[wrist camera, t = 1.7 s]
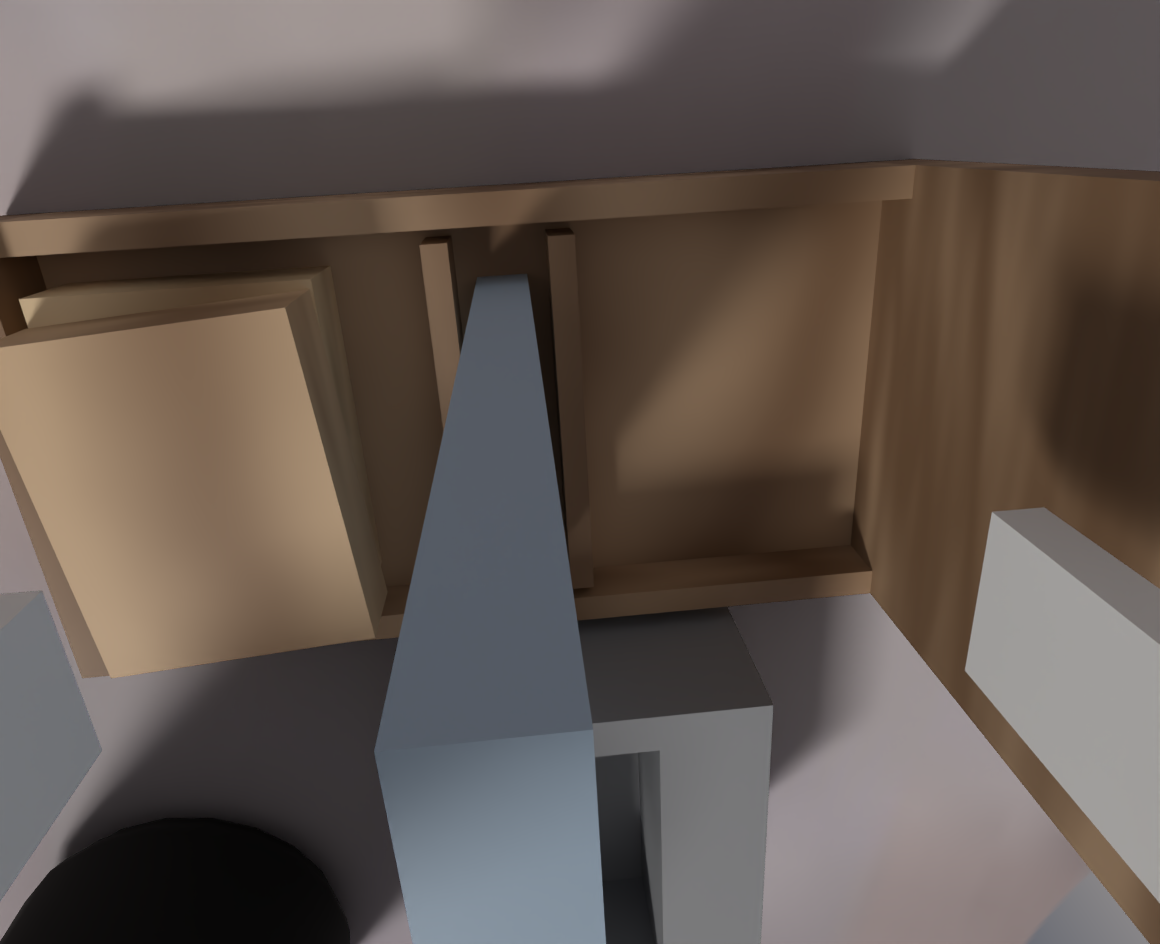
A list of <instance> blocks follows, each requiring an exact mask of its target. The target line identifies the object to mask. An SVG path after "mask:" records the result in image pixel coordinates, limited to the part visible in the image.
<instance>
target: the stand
mask: <svg viewBox="0 0 1160 944" xmlns="http://www.w3.org/2000/svg"><path fill="white" fill-rule="evenodd" d="M577 622H578V629H579V636H580V643H581V650H582V657H583V663H584V670H585V677H586V684H587V691H588V698H589V705H590V712H591V719H592V725H593V736H594V753H595V770H596V786H597V803H598V820H599V836H600V853H601V870H602V886H603V903H604V920H605V936H606V944H761V928H762V909H763V890H764V871H765V852H766V834H767V815H768V796H769V777H770V758H771V740H772V721H773V704H772V701H771V699H770V697H769V695H768V693H767V691H766V689H765V686H764V684H763V682H762V680H761V678H760V676H759V674H758V672H757V669H756V667H755V665H754V663H753V661H752V659H751V657H750V655H749V652H748V650H747V648H746V646H745V644H744V642H743V640H742V637H741V635H740V633H739V631H738V629H737V627H736V625H735V623H734V620H733V618H732V616H731V614H730V612H729V610H728V608H727V607H717V608H706V609H695V610H685V611H674V612H663V613H653V614H642V615H631V616H621V617H610V618H599V619H589V620H578V621H577Z"/></svg>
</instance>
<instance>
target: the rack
mask: <svg viewBox="0 0 1160 944" xmlns="http://www.w3.org/2000/svg"><path fill="white" fill-rule="evenodd" d="M315 266H331V272H332V278H333V283H334V289H335V295H336V301H337V306H338V312H339V318H340V323H341V329H342V335H343V341H344V346H345V352H346V358H347V363H348V369H349V375H350V381H351V386H352V392H353V398H354V404H355V409H356V415H357V421H358V426H359V432H360V438H361V444H362V449H363V455H364V461H365V466H366V472H367V478H368V484H369V489H370V495H371V501H372V507H373V512H374V518H375V524H376V529H377V535H378V541H379V547H380V552H381V558H382V564H381V568H382V572H383V576H384V580H385V584H386V587H387V591H388V592H387V596H386V600H385V603H384V607H383V611H382V615H381V619H380V622H379V626H378V630H377V634H376V638H372V639H365V640H376V639H386V638H397V637H399V635H400V630H401V626H402V621H403V616H404V612H405V607H406V603H407V598H408V593H409V589H410V584H411V580H412V575H413V570H414V566H415V561H416V557H417V552H418V547H419V543H420V538H421V533H422V529H423V524H424V520H425V515H426V510H427V506H428V501H429V497H430V492H431V487H432V483H433V478H434V474H435V469H436V464H437V460H438V455H439V451H440V446H441V441H442V437H443V432H444V428H445V423H446V418H447V414H448V409H449V405H450V400H451V395H452V391H453V386H454V381H455V377H456V372H457V368H458V363H459V358H460V354H461V349H462V345H463V340H464V335H465V331H466V326H467V322H468V317H469V312H470V308H471V303H472V299H473V294H474V289H475V285H476V280H477V277H486V276H500V275H515V274H527V277H528V284H529V291H530V298H531V305H532V312H533V319H534V326H535V332H536V339H537V346H538V353H539V360H540V367H541V374H542V381H543V388H544V395H545V401H546V408H547V415H548V422H549V429H550V436H551V443H552V450H553V457H554V463H555V470H556V477H557V484H558V491H559V498H560V505H561V512H562V519H563V526H564V532H565V539H566V546H567V553H568V560H569V567H570V574H571V581H572V588H573V594H574V601H575V608H576V615H577V621H578V620H589V619H599V618H610V617H621V616H631V615H642V614H653V613H663V612H674V611H685V610H695V609H706V608H717V607H727V606H738V605H749V604H759V603H770V602H781V601H791V600H802V599H812V598H823V597H834V596H844V595H855V594H866V593H871V595H872V596H873V597H874V599H875V600H876V601H877V602H878V604H879V605H880V606H881V607H882V609H883V610H884V611H885V612H886V614H887V615H888V616H889V617H890V619H891V620H892V621H893V622H894V624H895V625H896V626H897V627H898V629H899V630H900V631H901V632H902V634H903V635H904V636H905V637H906V639H907V640H908V641H909V642H910V644H911V645H912V646H913V647H914V649H915V650H916V651H917V652H918V654H919V655H920V656H921V657H922V659H923V660H924V661H925V662H926V664H927V665H928V666H929V667H930V669H931V670H932V671H933V672H934V674H935V675H936V676H937V677H938V679H939V680H940V681H941V682H942V684H943V685H944V686H945V688H946V689H947V690H948V691H949V693H950V694H951V695H952V696H953V698H954V699H955V700H956V701H957V703H958V704H959V705H960V706H961V708H962V709H963V710H964V711H965V713H966V714H967V715H968V716H969V718H970V719H971V720H972V721H973V723H974V724H975V725H976V726H977V728H978V729H979V730H980V731H981V733H982V734H983V735H984V736H985V738H986V739H987V740H988V741H989V743H990V744H991V745H992V746H993V748H994V749H995V750H996V751H997V753H998V754H999V755H1000V756H1001V758H1002V759H1003V760H1004V761H1005V763H1006V764H1007V765H1008V766H1009V768H1010V769H1011V770H1012V772H1013V773H1014V774H1015V775H1016V777H1017V778H1018V779H1019V780H1020V782H1021V783H1022V784H1023V785H1024V787H1025V788H1026V789H1027V790H1028V792H1029V793H1030V794H1031V795H1032V797H1033V798H1034V799H1035V800H1036V802H1037V803H1038V804H1039V805H1040V807H1041V808H1042V809H1043V810H1044V812H1045V813H1046V814H1047V815H1048V817H1049V818H1050V819H1051V820H1052V822H1053V823H1054V824H1055V825H1056V827H1057V828H1058V829H1059V830H1060V832H1061V833H1062V834H1063V835H1064V837H1065V838H1066V839H1067V840H1068V842H1069V843H1070V844H1071V845H1072V847H1073V848H1074V849H1075V850H1076V852H1077V853H1078V854H1079V855H1080V857H1081V858H1082V859H1083V861H1084V862H1085V863H1086V864H1087V866H1088V867H1089V868H1090V869H1091V871H1092V872H1093V873H1094V874H1095V876H1096V877H1097V878H1098V879H1099V881H1101V883H1102V884H1103V886H1104V887H1105V888H1106V889H1107V891H1108V892H1109V893H1110V894H1111V896H1112V897H1113V898H1114V899H1115V900H1116V902H1117V903H1118V904H1119V906H1120V907H1121V908H1122V909H1123V911H1124V912H1125V913H1126V914H1127V916H1128V917H1129V918H1130V919H1131V921H1132V922H1133V923H1134V924H1135V926H1136V927H1137V928H1138V929H1139V931H1140V932H1141V933H1142V934H1143V936H1144V937H1145V938H1146V939H1147V941H1148V942H1149V943H1150V944H1160V903H1159V902H1158V901H1157V899H1156V898H1155V897H1154V896H1153V895H1152V893H1151V892H1150V891H1149V890H1148V889H1147V887H1146V886H1145V885H1144V884H1143V883H1142V881H1141V880H1140V879H1139V878H1138V877H1137V875H1136V874H1135V873H1134V872H1133V871H1132V870H1131V868H1130V867H1129V866H1128V865H1127V864H1126V862H1125V861H1124V860H1123V859H1122V858H1121V856H1120V855H1119V854H1118V853H1117V852H1116V850H1115V849H1114V848H1113V847H1112V846H1111V844H1110V843H1109V842H1108V841H1107V840H1106V838H1105V837H1104V836H1103V835H1102V834H1101V833H1100V831H1099V830H1098V829H1097V828H1096V827H1095V825H1094V824H1093V823H1092V822H1091V821H1090V819H1089V818H1088V817H1087V816H1086V815H1085V813H1084V812H1083V811H1082V810H1081V809H1080V807H1079V806H1078V805H1077V804H1076V803H1075V801H1074V800H1073V799H1072V798H1071V797H1070V795H1069V794H1068V793H1067V792H1066V791H1065V790H1064V788H1063V787H1062V786H1061V785H1060V784H1059V782H1058V781H1057V780H1056V779H1055V778H1054V776H1053V775H1052V774H1051V773H1050V772H1049V770H1048V769H1047V768H1046V767H1045V766H1044V764H1043V763H1042V762H1041V761H1040V760H1039V758H1038V757H1037V756H1036V755H1035V754H1034V752H1033V751H1032V750H1031V749H1030V748H1029V747H1028V745H1027V744H1026V743H1025V742H1024V741H1023V739H1022V738H1021V737H1020V736H1019V735H1018V733H1017V732H1016V731H1015V730H1014V729H1013V727H1012V726H1011V725H1010V724H1009V723H1008V721H1007V720H1006V719H1005V718H1004V717H1003V715H1002V714H1001V713H1000V712H999V711H998V709H997V708H996V707H995V706H994V705H993V704H992V702H991V701H990V700H989V699H988V698H987V696H986V695H985V694H984V693H983V692H982V690H981V689H980V688H979V687H978V686H977V684H976V683H975V682H974V681H973V680H972V678H971V677H970V676H969V675H968V674H967V672H966V671H965V667H966V661H967V655H968V649H969V643H970V637H971V632H972V626H973V620H974V614H975V608H976V602H977V596H978V591H979V585H980V579H981V573H982V567H983V561H984V555H985V549H986V544H987V538H988V532H989V526H990V520H991V514H992V512H995V511H1007V510H1019V509H1031V508H1043V507H1044V508H1046V509H1047V510H1049V511H1050V512H1051V513H1053V514H1054V515H1056V516H1057V517H1058V518H1060V519H1061V520H1063V521H1064V522H1066V523H1067V524H1068V525H1070V526H1071V527H1073V528H1074V529H1076V530H1077V531H1078V532H1080V533H1081V534H1083V535H1084V536H1085V537H1087V538H1088V539H1090V540H1091V541H1093V542H1094V543H1095V544H1097V545H1098V546H1100V547H1101V548H1102V549H1104V550H1105V551H1107V552H1108V553H1110V554H1111V555H1112V556H1114V557H1115V558H1117V559H1118V560H1119V561H1121V562H1122V563H1124V564H1125V565H1127V566H1128V567H1129V568H1131V569H1132V570H1134V571H1135V572H1136V573H1138V574H1139V575H1141V576H1142V577H1144V578H1145V579H1146V580H1148V581H1149V582H1151V583H1152V584H1153V585H1155V586H1156V587H1158V588H1159V589H1160V172H1158V171H1138V170H1119V169H1099V168H1079V167H1060V166H1040V165H1021V164H1001V163H982V162H962V161H943V160H923V159H908V160H892V161H875V162H859V163H843V164H827V165H811V166H795V167H779V168H762V169H746V170H730V171H714V172H698V173H682V174H666V175H650V176H633V177H617V178H601V179H585V180H569V181H553V182H537V183H520V184H504V185H488V186H472V187H456V188H440V189H424V190H408V191H391V192H375V193H359V194H343V195H327V196H311V197H295V198H279V199H262V200H246V201H230V202H214V203H198V204H182V205H166V206H149V207H133V208H117V209H101V210H85V211H69V212H53V213H37V214H20V215H4V216H0V339H1V338H4V337H6V336H9V335H11V334H14V333H16V332H19V331H21V330H24V329H28V326H27V323H26V320H25V317H24V314H23V311H22V308H21V305H20V302H19V299H21V298H24V297H27V296H30V295H33V294H36V293H39V292H42V291H45V290H48V289H51V288H54V287H57V286H60V285H63V284H66V283H76V282H91V281H106V280H121V279H136V278H151V277H165V276H180V275H195V274H210V273H225V272H240V271H255V270H270V269H285V268H300V267H315ZM0 458H1V461H2V463H3V466H4V469H5V471H6V474H7V477H8V479H9V482H10V485H11V487H12V490H13V493H14V496H15V498H16V501H17V504H18V506H19V509H20V512H21V514H22V517H23V520H24V523H25V525H26V528H27V531H28V533H29V536H30V539H31V541H32V544H33V547H34V549H35V552H36V555H37V558H38V560H39V563H40V566H41V568H42V571H43V574H44V576H45V579H46V582H47V585H48V587H49V590H50V593H51V595H52V598H53V601H54V603H55V606H56V609H57V611H58V614H59V617H60V620H61V622H62V625H63V628H64V630H65V633H66V636H67V638H68V641H69V644H70V647H71V649H72V652H73V655H74V657H75V660H76V663H77V665H78V668H79V671H80V673H81V676H82V678H90V677H100V676H110V675H109V673H108V670H107V668H106V666H105V664H104V661H103V659H102V657H101V655H100V652H99V650H98V648H97V646H96V644H95V641H94V639H93V637H92V635H91V632H90V630H89V628H88V626H87V623H86V621H85V619H84V617H83V614H82V612H81V610H80V608H79V605H78V603H77V601H76V599H75V596H74V594H73V592H72V590H71V587H70V585H69V583H68V581H67V578H66V576H65V574H64V572H63V569H62V567H61V565H60V563H59V560H58V558H57V556H56V554H55V551H54V549H53V547H52V545H51V542H50V540H49V538H48V536H47V534H46V531H45V529H44V527H43V525H42V522H41V520H40V518H39V516H38V513H37V511H36V509H35V507H34V504H33V502H32V500H31V498H30V495H29V493H28V491H27V489H26V486H25V484H24V482H23V480H22V477H21V475H20V473H19V471H18V468H17V466H16V464H15V462H14V459H13V457H12V455H11V453H10V450H9V448H8V446H7V444H6V441H5V439H4V437H3V435H2V432H1V430H0ZM365 640H359V641H365ZM352 642H354V641H352Z"/></svg>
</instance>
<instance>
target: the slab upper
mask: <svg viewBox="0 0 1160 944" xmlns="http://www.w3.org/2000/svg"><path fill="white" fill-rule="evenodd" d="M0 430H1V432H2V435H3V437H4V439H5V441H6V444H7V446H8V448H9V450H10V453H11V455H12V457H13V459H14V462H15V464H16V466H17V468H18V471H19V473H20V475H21V477H22V480H23V482H24V484H25V486H26V489H27V491H28V493H29V495H30V498H31V500H32V502H33V504H34V507H35V509H36V511H37V513H38V516H39V518H40V520H41V522H42V525H43V527H44V529H45V531H46V534H47V536H48V538H49V540H50V542H51V545H52V547H53V549H54V551H55V554H56V556H57V558H58V560H59V563H60V565H61V567H62V569H63V572H64V574H65V576H66V578H67V581H68V583H69V585H70V587H71V590H72V592H73V594H74V596H75V599H76V601H77V603H78V605H79V608H80V610H81V612H82V614H83V617H84V619H85V621H86V623H87V626H88V628H89V630H90V632H91V635H92V637H93V639H94V641H95V644H96V646H97V648H98V650H99V652H100V655H101V657H102V659H103V661H104V664H105V666H106V668H107V670H108V673H109V675H110V677H111V678H117V677H124V676H130V675H137V674H143V673H150V672H156V671H163V670H169V669H176V668H182V667H189V666H195V665H202V664H208V663H215V662H221V661H228V660H235V659H241V658H248V657H254V656H261V655H267V654H274V653H280V652H287V651H293V650H300V649H306V648H313V647H319V646H326V645H332V644H339V643H345V642H352V641H359V640H365V639H372V638H376V634H377V630H378V626H379V622H380V619H381V615H382V611H383V607H384V603H385V600H386V596H387V592H388V591H387V587H386V584H385V580H384V576H383V572H382V568H381V564H380V560H379V556H378V553H377V549H376V545H375V541H374V537H373V533H372V529H371V526H370V522H369V518H368V514H367V510H366V506H365V502H364V499H363V495H362V491H361V487H360V483H359V479H358V475H357V471H356V468H355V464H354V460H353V456H352V452H351V448H350V444H349V441H348V437H347V433H346V429H345V425H344V421H343V417H342V414H341V410H340V406H339V402H338V398H337V394H336V390H335V386H334V383H333V379H332V375H331V371H330V367H329V363H328V359H327V356H326V352H325V348H324V344H323V340H322V336H321V332H320V329H319V325H318V321H317V317H316V313H315V309H314V305H313V301H312V298H311V294H310V290H309V289H307V290H300V291H292V292H285V293H278V294H271V295H264V296H257V297H249V298H242V299H235V300H228V301H221V302H214V303H207V304H199V305H192V306H185V307H178V308H171V309H164V310H157V311H149V312H142V313H135V314H128V315H121V316H114V317H107V318H99V319H92V320H85V321H78V322H71V323H64V324H57V325H49V326H42V327H35V328H28V329H24V330H21V331H19V332H16V333H14V334H11V335H9V336H6V337H4V338H1V339H0Z"/></svg>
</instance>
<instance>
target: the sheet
mask: <svg viewBox="0 0 1160 944" xmlns="http://www.w3.org/2000/svg"><path fill="white" fill-rule="evenodd" d="M374 754H375V759H376V764H377V769H378V774H379V779H380V784H381V789H382V794H383V799H384V804H385V809H386V814H387V819H388V824H389V829H390V834H391V839H392V844H393V849H394V854H395V859H396V863H397V868H398V873H399V878H400V883H401V888H402V893H403V898H404V903H405V908H406V913H407V918H408V923H409V928H410V933H411V938H412V943H413V944H606V936H605V920H604V903H603V886H602V870H601V853H600V836H599V820H598V803H597V786H596V770H595V753H594V736H593V725H592V719H591V712H590V705H589V698H588V691H587V684H586V677H585V670H584V663H583V657H582V650H581V643H580V636H579V629H578V622H577V615H576V608H575V601H574V594H573V588H572V581H571V574H570V567H569V560H568V553H567V546H566V539H565V532H564V526H563V519H562V512H561V505H560V498H559V491H558V484H557V477H556V470H555V463H554V457H553V450H552V443H551V436H550V429H549V422H548V415H547V408H546V401H545V395H544V388H543V381H542V374H541V367H540V360H539V353H538V346H537V339H536V332H535V326H534V319H533V312H532V305H531V298H530V291H529V284H528V277H527V274H515V275H500V276H486V277H477V280H476V285H475V289H474V294H473V299H472V303H471V308H470V312H469V317H468V322H467V326H466V331H465V335H464V340H463V345H462V349H461V354H460V358H459V363H458V368H457V372H456V377H455V381H454V386H453V391H452V395H451V400H450V405H449V409H448V414H447V418H446V423H445V428H444V432H443V437H442V441H441V446H440V451H439V455H438V460H437V464H436V469H435V474H434V478H433V483H432V487H431V492H430V497H429V501H428V506H427V510H426V515H425V520H424V524H423V529H422V533H421V538H420V543H419V547H418V552H417V557H416V561H415V566H414V570H413V575H412V580H411V584H410V589H409V593H408V598H407V603H406V607H405V612H404V616H403V621H402V626H401V630H400V635H399V639H398V644H397V649H396V653H395V658H394V662H393V667H392V672H391V676H390V681H389V685H388V690H387V695H386V699H385V704H384V708H383V713H382V718H381V722H380V727H379V732H378V736H377V741H376V745H375V750H374Z"/></svg>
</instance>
